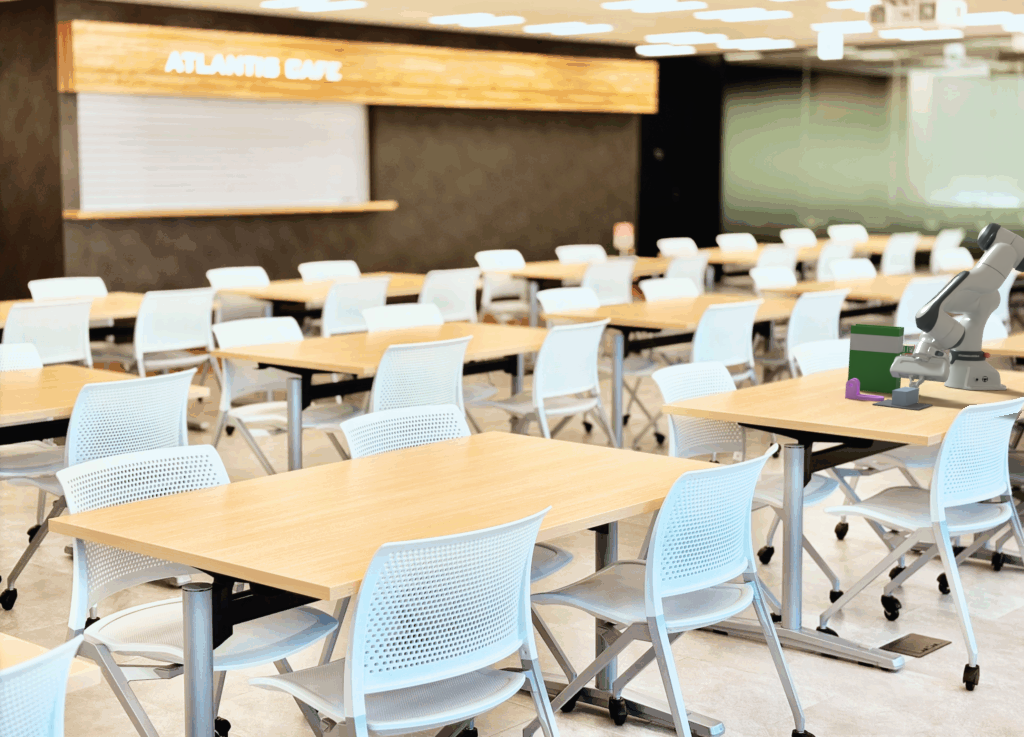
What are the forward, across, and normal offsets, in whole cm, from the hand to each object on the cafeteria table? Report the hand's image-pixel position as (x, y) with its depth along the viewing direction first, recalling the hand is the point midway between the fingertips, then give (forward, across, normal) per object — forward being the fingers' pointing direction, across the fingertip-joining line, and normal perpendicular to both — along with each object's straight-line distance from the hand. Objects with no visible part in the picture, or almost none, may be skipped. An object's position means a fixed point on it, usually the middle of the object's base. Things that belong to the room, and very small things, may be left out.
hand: (913, 387), depth 463 cm
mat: (+10, 0, -2) cm, 10 cm away
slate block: (+2, 0, +2) cm, 3 cm away
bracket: (+7, -16, +1) cm, 17 cm away
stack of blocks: (-46, -28, +54) cm, 77 cm away
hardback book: (-8, -21, +16) cm, 28 cm away
